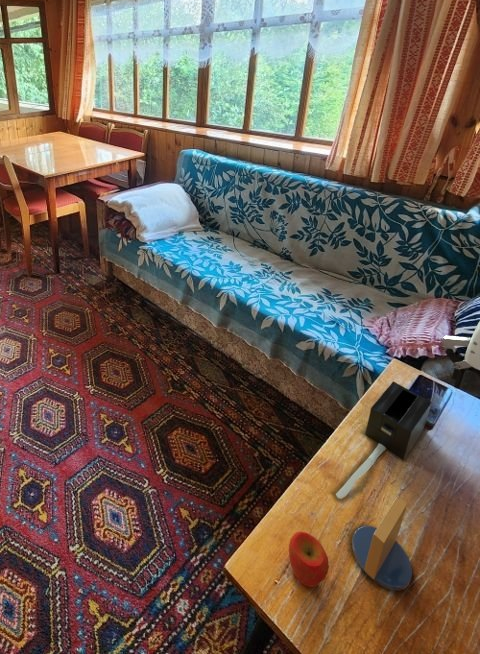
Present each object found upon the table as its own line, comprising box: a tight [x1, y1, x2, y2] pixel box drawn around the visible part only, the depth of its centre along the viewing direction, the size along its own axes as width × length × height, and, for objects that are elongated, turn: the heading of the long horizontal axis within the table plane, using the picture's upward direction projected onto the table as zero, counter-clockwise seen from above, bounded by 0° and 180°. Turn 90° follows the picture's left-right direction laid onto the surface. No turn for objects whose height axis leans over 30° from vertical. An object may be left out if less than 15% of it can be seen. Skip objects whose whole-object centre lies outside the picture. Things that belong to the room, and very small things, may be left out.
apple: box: [288, 530, 330, 588], centre depth 66 cm, size 6×6×8 cm
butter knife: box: [335, 443, 387, 500], centre depth 84 cm, size 1×27×3 cm
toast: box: [363, 496, 408, 579], centre depth 66 cm, size 10×2×10 cm, turn 125°
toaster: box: [364, 381, 432, 461], centre depth 88 cm, size 13×8×9 cm, turn 125°
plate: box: [351, 525, 413, 592], centre depth 68 cm, size 9×9×1 cm
